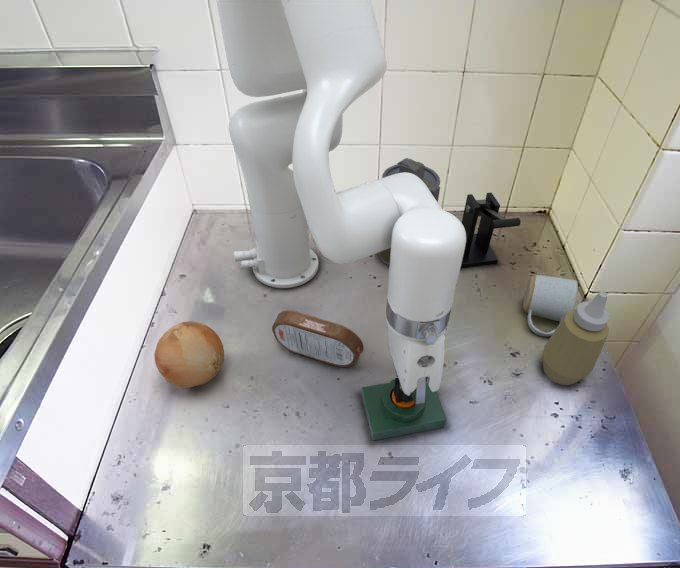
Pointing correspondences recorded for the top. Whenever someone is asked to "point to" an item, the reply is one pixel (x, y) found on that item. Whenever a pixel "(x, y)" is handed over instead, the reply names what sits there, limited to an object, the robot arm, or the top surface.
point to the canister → (420, 171)
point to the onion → (189, 354)
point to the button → (402, 403)
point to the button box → (400, 412)
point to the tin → (317, 338)
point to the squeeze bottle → (577, 342)
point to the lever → (496, 216)
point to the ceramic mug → (549, 299)
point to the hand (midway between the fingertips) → (405, 396)
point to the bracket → (478, 234)
